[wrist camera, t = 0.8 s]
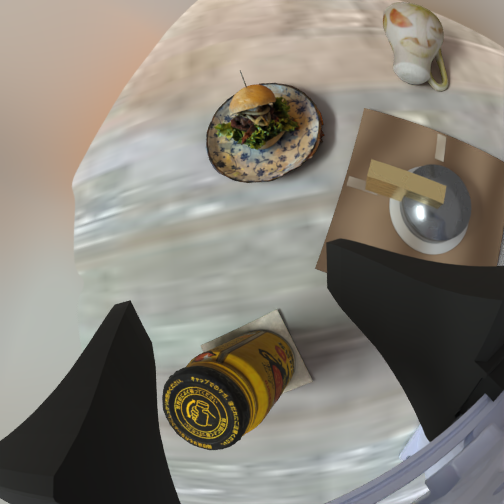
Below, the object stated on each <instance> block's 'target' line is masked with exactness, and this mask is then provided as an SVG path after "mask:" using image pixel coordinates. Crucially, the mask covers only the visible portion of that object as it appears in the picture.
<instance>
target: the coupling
mask: <svg viewBox="0 0 504 504" xmlns="http://www.w3.org/2000/svg"><path fill="white" fill-rule="evenodd" d="M365 190H368V191H371V192H374V193H377V194H380V195H383V196H386V197H389V198H391V199H394V200H397V201H400V212H401V216H402V219H403V221H404V223H405V225H406V227H407V228H408V229H409V231H410V232H411V233H412V234H413V235H414V236H415V237H417V238H418V239H420V240H422V241H424V242H427V243H431V244H439V243H443V242H446V241H448V240H450V239H452V238H454V237H456V236H458V235H459V234H461V233H462V232H463V231H464V229H465V228H466V226H467V225H468V223H469V220H470V216H471V199H470V195H469V192H468V190H467V188H466V186H465V184H464V183H463V181H462V180H461V179H460V177H459V176H458V175H457V174H455V173H454V172H453V171H451V170H450V169H448V168H446V167H444V166H441V165H435V164H430V165H424V166H422V167H419V168H418V169H416V170H415V171H414V172H413V173H411V172H408V171H406V170H403V169H400V168H397V167H394V166H391V165H388V164H385V163H382V162H379V161H376V160H372V159H371V163H370V167H369V171H368V174H367V180H366V187H365Z"/></svg>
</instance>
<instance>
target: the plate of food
mask: <svg viewBox="0 0 504 504" xmlns="http://www.w3.org/2000/svg"><path fill="white" fill-rule="evenodd" d="M240 73H241V70H240ZM241 76H242V73H241ZM242 78H243V76H242ZM243 81H244V78H243ZM244 84H245V81H244ZM245 86H246V84H245ZM322 125H324V124H323V120H322V116H321V113H320V112H319V110H318V109H317V107H316V105H315V104H314V102H313V101H312V100H311V99H310V98H309V97H308V96H307V95H306V94H305V93H304V92H302V91H300V90H299V89H297V88H295V87H293V86H289V85H284V84H278V83H266V84H264V83H263V84H259V85H250V86H246V87H245V88H243V89H241V90H240V91H239V92H237V93H236V94H235V95H233V96H232V97H230V98H229V99H228V100H227V101H225V102H224V103H223V104H222V105H221V106H220V107H219V109H218V110H217V111H216V113H215V114H214V116H213V118H212V121H211V123H210V125H209V127H208V131H207V135H206V150H207V153H208V156H209V160H210V162H211V164H212V166H213V167H214V169H215V170H216V171H217V172H218V173H219V174H222V175H224V176H227V177H228V178H230V179H232V180H234V181H239V182H246V183H252V182H268V181H273V180H275V179H277V178H279V177H281V176H282V175H284V174H286V173H288V172H290V171H291V170H293V169H295V168H298V167H299V166H301V165H302V164H303V162H305V161H306V160H307V159H309V158H312V156H313V155H314V153H315V152H316V150H317V148H318V145H319V143H320V142H323V141H322V139H321V138H322V136H324V134H322V133H323V131H322V128H321V127H322Z"/></svg>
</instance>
